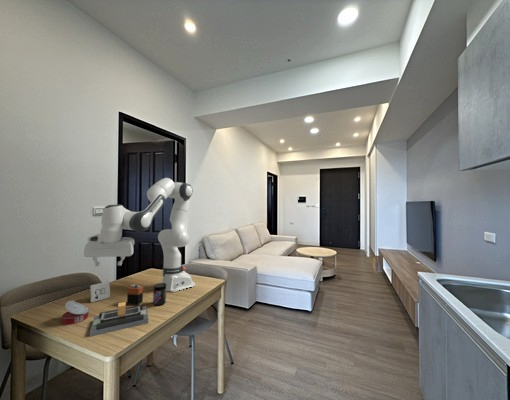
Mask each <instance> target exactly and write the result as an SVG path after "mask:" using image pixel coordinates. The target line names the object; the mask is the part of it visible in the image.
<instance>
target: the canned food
mask: <svg viewBox="0 0 510 400" xmlns="http://www.w3.org/2000/svg"><path fill="white" fill-rule="evenodd" d="M64 307H65V309H66V312H65V313H63V314H62V315H61V325H64V326H66V325H68V326H71V325H75V324H79V323H81V322H83V321H85V320H86V319H88V317H89V312H90V311H89V308H88V307H87V306H86V305H83V304H81V303H80V302H76V301H74V300H68V301H67V302H66V303H65V306H64Z"/></svg>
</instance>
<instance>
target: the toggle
mask: <svg viewBox="0 0 510 400" xmlns="http://www.w3.org/2000/svg"><path fill="white" fill-rule="evenodd" d="M126 304H127V301H123V302H118V305H117V309H118V316H121V315H125V309H126V308H127V306H126Z"/></svg>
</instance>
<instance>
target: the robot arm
mask: <svg viewBox="0 0 510 400" xmlns="http://www.w3.org/2000/svg"><path fill="white" fill-rule="evenodd" d="M192 195H193V187H192V185H191V184H189V183H186V182H178V181H177V182H176V181H175V182H174V181H173V179H171V178H169V177H164V178H161V179H159V180H158V181H157V182H155V183H154V184H153V185H152V186H151V187H149V188H148V190H147V191H146V197H147V199H148V201H149V202H150V203H149V204H148V205H147V206H146V208H145V209H144V210H142V211H131V210H129V209H127V208H125V207H124V206H123V205H122V204H120V203H119V204H118V203H117V204H108V205H106V206H105V207H104V208H103V210H102V215H101V229H100V232H99V233H97V234H94V235H91V236H88V237H87V243H86V244H85V246H84V249H83V256H84V257H85V258H92V261H93V263H94V267H100V265H101V264H100V263H101V261H98V258H99V257H101V258H105V257H106V258H107V257H108V258H110V257H112V258H113V257H120V260H119V261H117V266H118V267H119V266H122V264H123V261H124V260H125V258H126V257H131V256H132V255H133V254H134V245H135V239H134V238H133V237H131V236H130V237H129V236H128V237H127V236H125V237H124V236H123V230H128V231H135V232H139V233H142V232H146V231H147V230H149V228H150V227H151V224H152V223H153V220H154V219H155V218H156V216H157V215H158V214H159V212H160V211H161V210H162V208H163V207H164V205H165V203H166V202H167V201H166V200H167V198H169V199H174V203H173V205H172V208H171V213H170V215H169V216H170V217H169V222H170V224H171V229H170V228H169V229H168V228H166V229H162V230H160V231H159V232H158V235H157V240H158V241H159V243H160V245H161V249H162V252H163V253H162V254H163V267H162V278H161V283H166V284H167V286H166V292H170V293H175V292H180V291H184V290H187V289H186V288H188V289H190V288H189V287H192V288H194V287H193V286H196V283H195V281H193V280H192V276H191V275H190V274H189V273H188V272H186V267H185V266H184V265H182V254H181V252H180V250H179V248H183V247H186V246H187V245H188V244H189V243H190V235H189V233H188V231H187V219H188V215H189V211H190V203H191V202H190V199H191V197H192ZM122 236H123V237H122ZM183 289H184V290H183ZM179 290H180V291H179Z"/></svg>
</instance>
